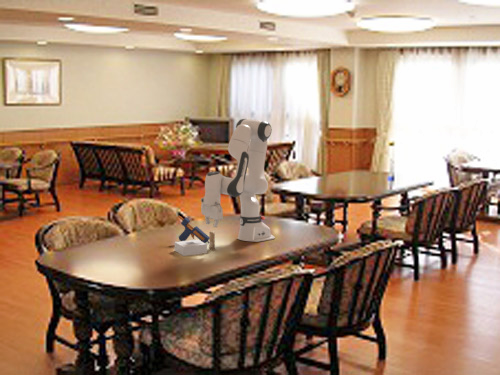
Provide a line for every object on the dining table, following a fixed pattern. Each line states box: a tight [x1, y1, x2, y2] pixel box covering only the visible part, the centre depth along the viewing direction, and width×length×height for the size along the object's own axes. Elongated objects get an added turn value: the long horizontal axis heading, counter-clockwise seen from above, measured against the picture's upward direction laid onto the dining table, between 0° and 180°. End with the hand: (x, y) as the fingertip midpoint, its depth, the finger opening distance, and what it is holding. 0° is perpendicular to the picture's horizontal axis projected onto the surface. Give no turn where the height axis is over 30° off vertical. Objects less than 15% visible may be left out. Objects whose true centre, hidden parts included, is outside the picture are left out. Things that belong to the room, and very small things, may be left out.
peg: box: [208, 231, 216, 251], centre depth 371 cm, size 3×3×10 cm
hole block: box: [174, 239, 208, 257], centre depth 365 cm, size 14×12×5 cm
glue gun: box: [178, 215, 209, 244], centre depth 387 cm, size 5×25×12 cm
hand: (211, 225), depth 370 cm, fingers open, 8 cm apart
